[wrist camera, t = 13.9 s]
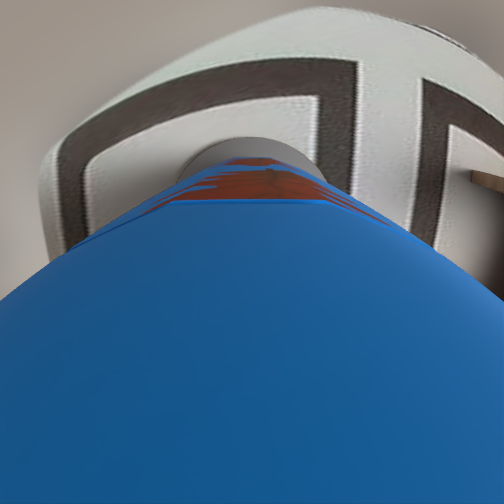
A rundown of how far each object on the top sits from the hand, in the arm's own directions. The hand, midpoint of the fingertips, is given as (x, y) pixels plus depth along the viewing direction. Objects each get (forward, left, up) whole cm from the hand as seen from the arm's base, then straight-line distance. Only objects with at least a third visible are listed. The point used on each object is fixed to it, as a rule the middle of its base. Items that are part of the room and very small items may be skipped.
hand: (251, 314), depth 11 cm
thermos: (0, 0, -11) cm, 11 cm away
